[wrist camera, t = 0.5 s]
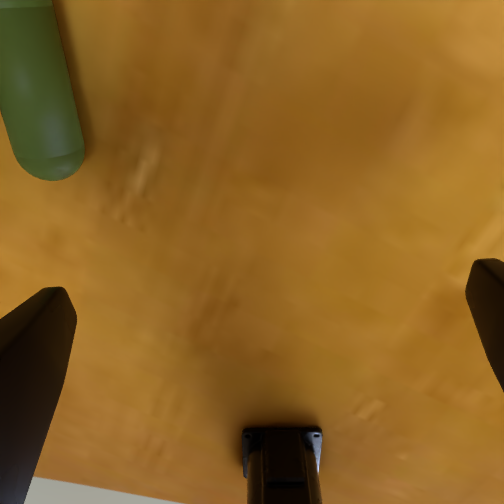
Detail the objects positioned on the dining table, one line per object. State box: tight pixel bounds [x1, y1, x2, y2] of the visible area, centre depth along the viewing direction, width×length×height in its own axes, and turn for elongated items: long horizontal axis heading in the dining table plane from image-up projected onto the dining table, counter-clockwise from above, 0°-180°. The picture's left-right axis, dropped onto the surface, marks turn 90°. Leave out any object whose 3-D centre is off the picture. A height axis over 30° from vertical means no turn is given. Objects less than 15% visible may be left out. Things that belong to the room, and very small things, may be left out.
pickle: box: [0, 0, 85, 181], centre depth 19 cm, size 9×3×3 cm, turn 1°
